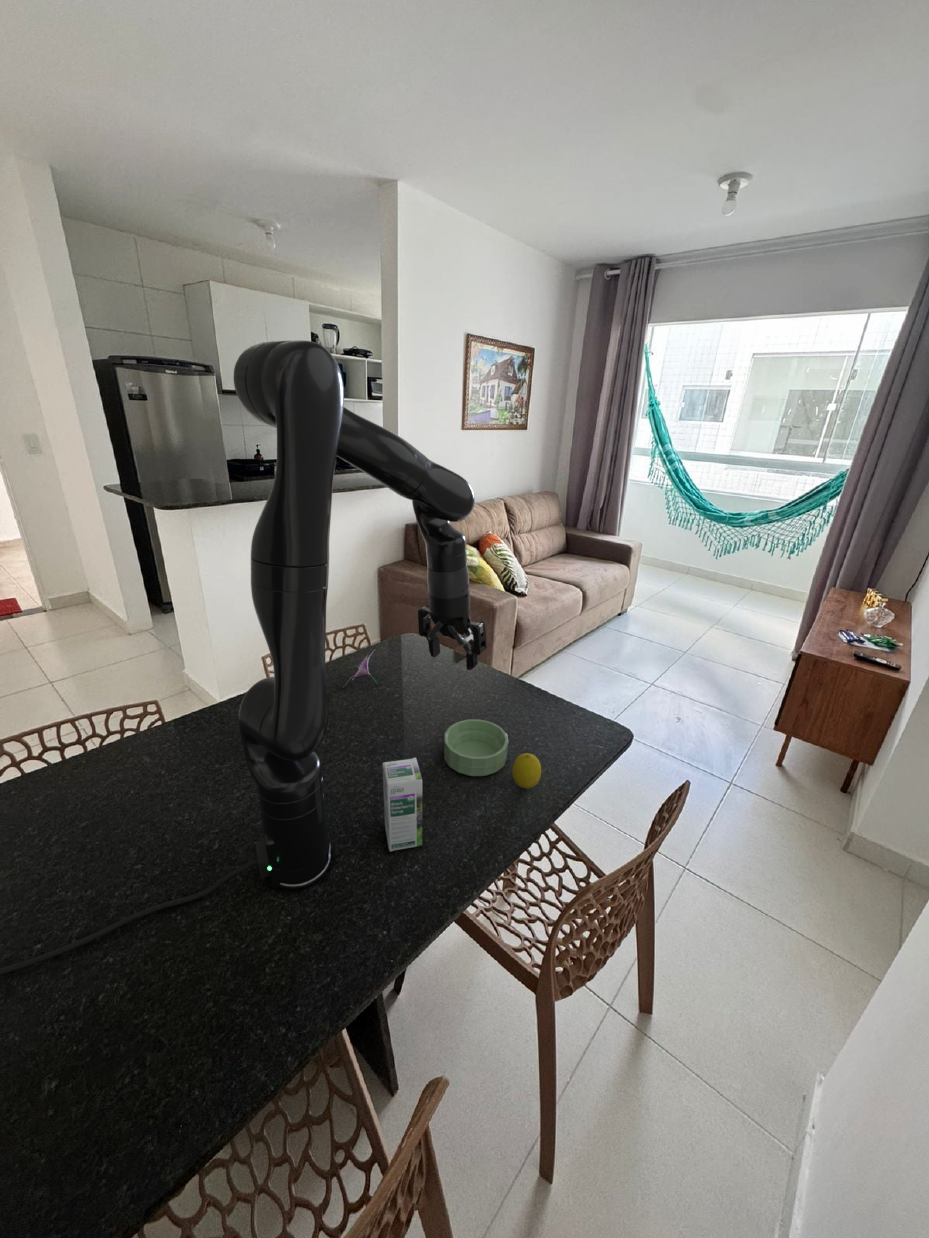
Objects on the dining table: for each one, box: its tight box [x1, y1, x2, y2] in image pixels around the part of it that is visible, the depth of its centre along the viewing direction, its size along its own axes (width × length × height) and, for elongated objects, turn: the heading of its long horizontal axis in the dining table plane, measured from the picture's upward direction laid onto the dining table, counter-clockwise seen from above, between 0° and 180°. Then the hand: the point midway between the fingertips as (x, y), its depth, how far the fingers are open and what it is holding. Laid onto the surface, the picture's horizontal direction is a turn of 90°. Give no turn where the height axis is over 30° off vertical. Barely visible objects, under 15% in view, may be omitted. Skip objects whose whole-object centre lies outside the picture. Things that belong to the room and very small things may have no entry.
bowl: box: [443, 718, 509, 777], centre depth 107 cm, size 13×13×5 cm
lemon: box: [511, 752, 542, 790], centre depth 99 cm, size 6×6×8 cm
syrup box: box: [382, 757, 423, 853], centre depth 86 cm, size 6×6×14 cm
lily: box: [342, 650, 379, 689], centre depth 132 cm, size 12×12×10 cm
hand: (453, 661), depth 100 cm, fingers open, 8 cm apart
